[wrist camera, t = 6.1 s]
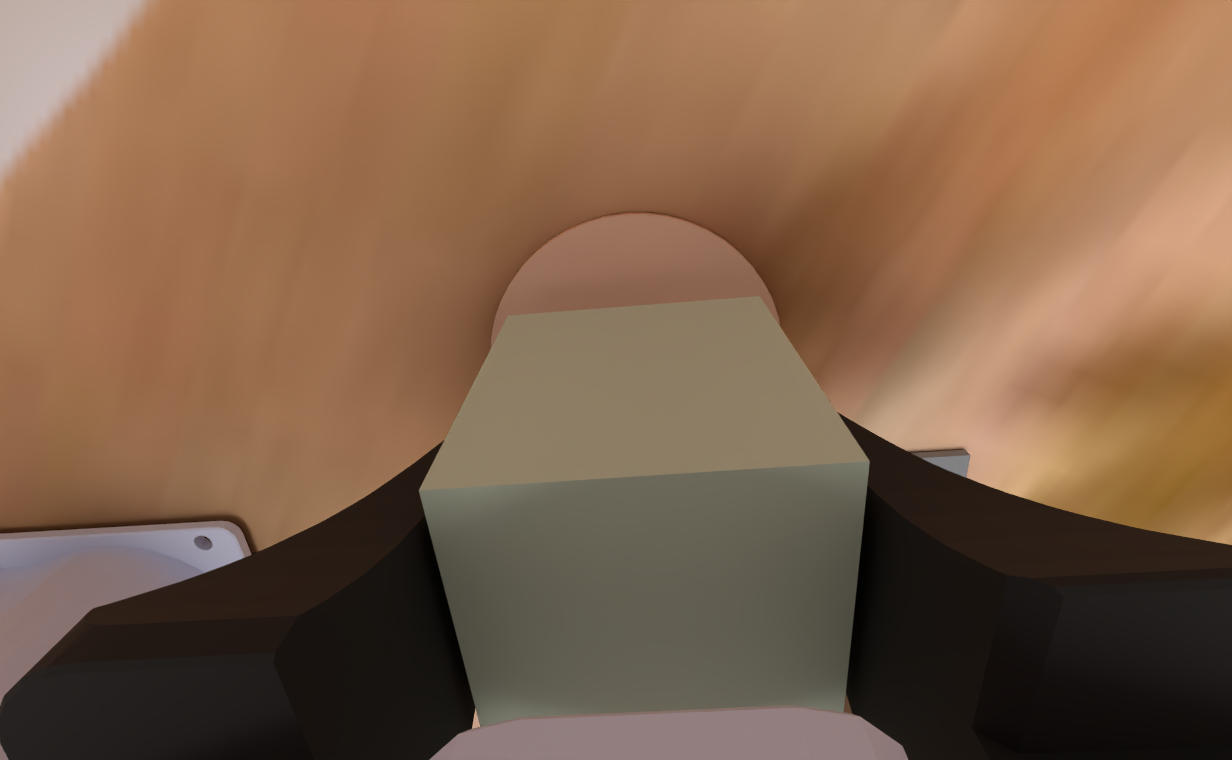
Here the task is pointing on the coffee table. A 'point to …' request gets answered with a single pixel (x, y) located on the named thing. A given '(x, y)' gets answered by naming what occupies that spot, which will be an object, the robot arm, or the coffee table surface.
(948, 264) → the coffee table surface
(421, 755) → the robot arm
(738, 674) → the sage block
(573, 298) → the tan round disc
